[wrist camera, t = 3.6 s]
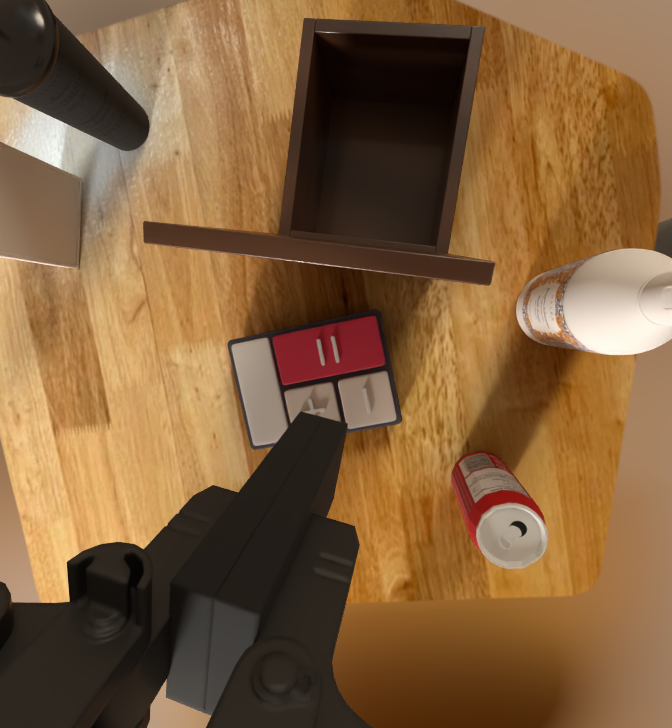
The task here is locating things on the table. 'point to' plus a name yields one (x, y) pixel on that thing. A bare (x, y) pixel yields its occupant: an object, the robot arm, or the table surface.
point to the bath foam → (601, 303)
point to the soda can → (498, 511)
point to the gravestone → (38, 210)
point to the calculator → (316, 376)
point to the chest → (379, 132)
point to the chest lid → (322, 252)
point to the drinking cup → (64, 76)
